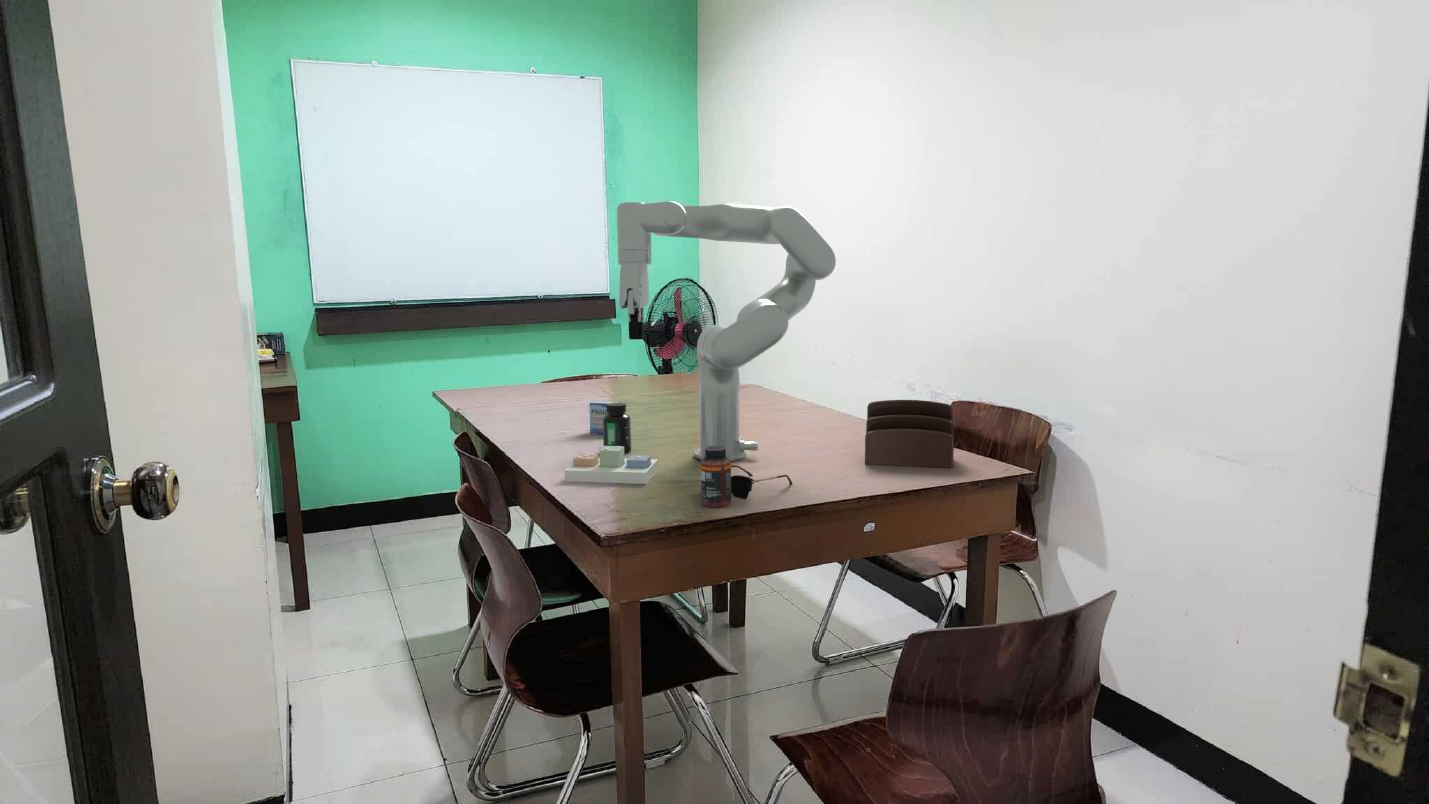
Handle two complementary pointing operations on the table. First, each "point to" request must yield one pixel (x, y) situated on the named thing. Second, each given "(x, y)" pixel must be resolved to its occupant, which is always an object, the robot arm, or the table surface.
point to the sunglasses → (745, 484)
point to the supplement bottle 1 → (617, 427)
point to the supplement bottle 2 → (715, 478)
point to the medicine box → (598, 415)
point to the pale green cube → (612, 456)
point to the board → (611, 474)
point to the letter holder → (909, 434)
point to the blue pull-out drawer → (638, 461)
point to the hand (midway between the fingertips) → (636, 338)
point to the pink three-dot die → (585, 460)
